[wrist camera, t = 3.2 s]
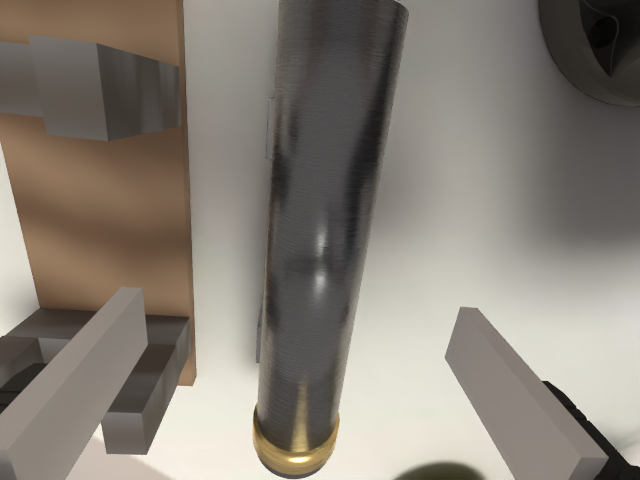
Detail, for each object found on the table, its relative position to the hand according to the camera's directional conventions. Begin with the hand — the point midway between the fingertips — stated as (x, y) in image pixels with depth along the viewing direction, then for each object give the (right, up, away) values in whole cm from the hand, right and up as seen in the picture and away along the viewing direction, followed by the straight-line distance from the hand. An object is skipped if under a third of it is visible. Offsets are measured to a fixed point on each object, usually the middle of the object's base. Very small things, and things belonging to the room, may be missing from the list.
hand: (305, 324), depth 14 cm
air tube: (0, +2, +6) cm, 6 cm away
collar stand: (-13, +5, +8) cm, 16 cm away
